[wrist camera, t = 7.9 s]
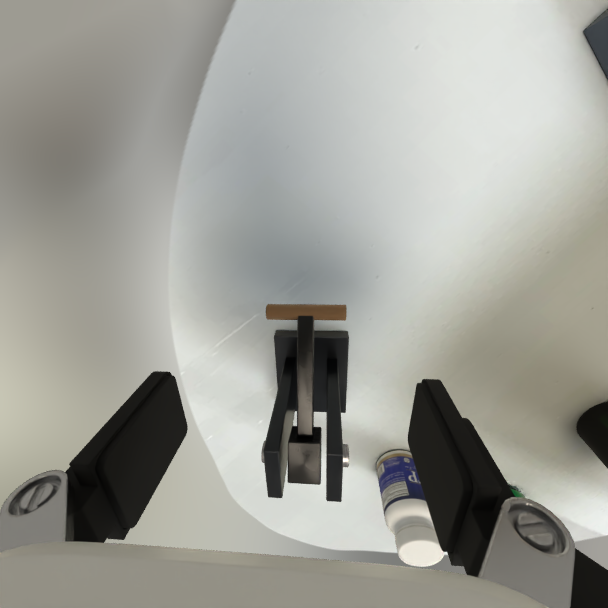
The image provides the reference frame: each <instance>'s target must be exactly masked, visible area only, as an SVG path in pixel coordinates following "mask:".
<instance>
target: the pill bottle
mask: <svg viewBox="0 0 608 608" xmlns="http://www.w3.org/2000/svg"><path fill="white" fill-rule="evenodd" d="M376 469H377V476H378V481H379V487H380V492H381V498H382V504H383V510H384V516H385V521H386V524H387V526H388V528H389V530H390V531H391V532H392V533H393V534H394V535H395V542H396V547H397V551H398V555H399V557H400V559H401V560H402V561H403V562H405V563H407V564H409V565H412V566H418V567H424V566H430V565H433V564H436V563H438V562H439V561H440V560H441V559H442V558H443V555H444V551H442V549H441V547H440V545H439V542H438V538H437V535H436V532H435V529H434V525H433V522H432V519H431V516H430V513H429V509H428V506H427V503H426V500H425V496H424V493H423V490H422V487H421V483H420V480H419V477H418V474H417V470H416V467H415V464H414V461H413V457H412V454H411V453H410V452H408V451H402V450H396V451H391V452H388V453H386V454H384V455H383V456H381V457H380V459H379V460H378V462H377V466H376Z"/></svg>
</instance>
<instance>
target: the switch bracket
mask: <svg viewBox="0 0 608 608" xmlns="http://www.w3.org/2000/svg"><path fill="white" fill-rule="evenodd" d="M274 342H275V356H276V370H277V384H278V392H277V396H276V400H275V404H274V408H273V412H272V417H271V421H270V425H269V429H268V433H267V437H266V441H264V443H263V447H262V462H263V463H265V473H266V482H267V491H268V497H272V498H282V496H283V489H284V482H285V475H286V468H287V461H288V440H289V436H290V433H291V429H292V426H293V419H294V412H295V411H297V361H298V331H276V332H275V335H274ZM348 343H349V336H348V332H345V331H314V412H327V458H326V500H327V501H336V502H341V497H342V473H343V467H348V466H349V448H348V445H347V444H343V443H342V426H341V413H345V412H346V391H347V367H348Z"/></svg>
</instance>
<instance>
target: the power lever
mask: <svg viewBox="0 0 608 608" xmlns="http://www.w3.org/2000/svg"><path fill="white" fill-rule="evenodd" d="M266 318H267V319H268V320H298V361H297V426H292V429H291V433H290V436H289V440H288V483H301V484H318V485H319V484H320V483H321V427H314V320H346V305H308V304H267V306H266Z"/></svg>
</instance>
